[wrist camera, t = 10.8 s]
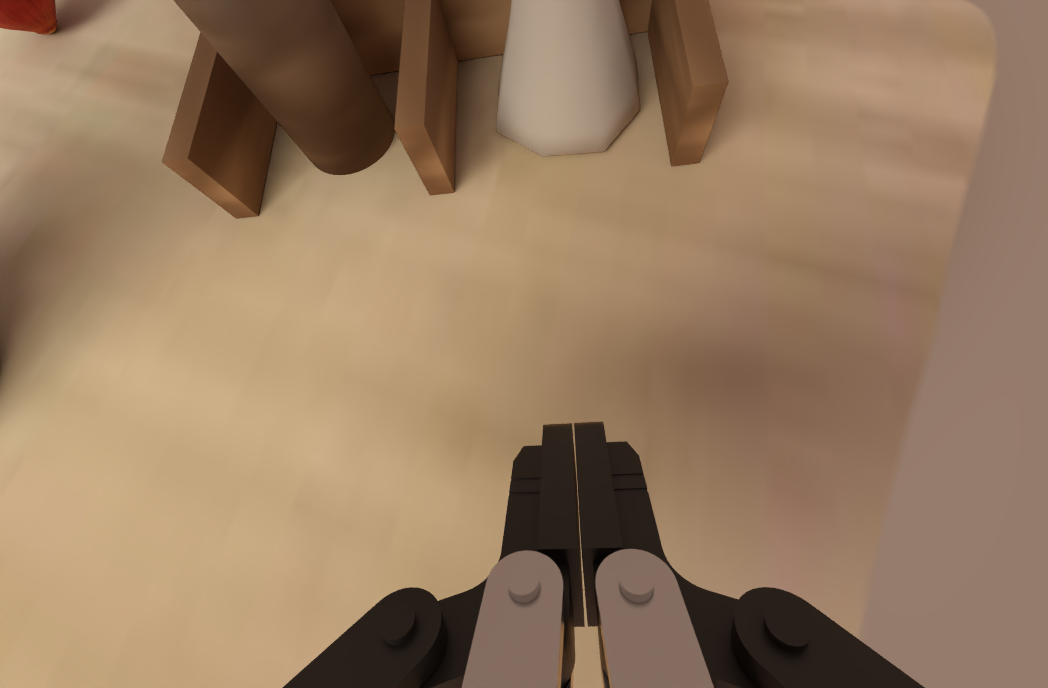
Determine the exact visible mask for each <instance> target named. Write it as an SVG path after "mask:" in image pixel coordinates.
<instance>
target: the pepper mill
mask: <svg viewBox="0 0 1048 688" xmlns="http://www.w3.org/2000/svg"><path fill="white" fill-rule="evenodd" d="M174 1H175V2H176V4H177V5H178V6H179V7H180V8H181V9H182V11H183V12H184V13H185V14H186V15H187V16H188V18H189V19H190V20H191V21H192V22H193V23H194V25H195V26H196V27H197V28H198V29H199V31H200V32H201V33H202V34H203V35H204V36H205V38H206V39H207V40H208V41H209V42H210V43H211V45H212V46H213V47H214V48H215V49H216V50H217V52H218V53H219V54H220V55H221V56H222V57H223V59H224V60H225V61H226V62H227V63H228V65H229V66H230V67H231V68H232V69H233V70H234V72H235V73H236V74H237V75H238V76H239V77H240V79H241V80H242V81H243V82H244V83H245V84H246V86H247V87H248V88H249V89H250V90H251V92H252V93H253V94H254V95H255V96H256V97H257V99H258V100H259V101H260V102H261V103H262V104H263V106H264V107H265V108H266V109H267V110H268V111H269V113H270V114H271V115H272V116H273V117H274V119H275V120H276V121H277V122H278V123H279V124H280V126H281V127H282V128H283V129H284V130H285V131H286V133H287V134H288V135H289V136H290V137H291V138H292V140H293V141H294V142H295V143H296V144H297V145H298V147H299V148H300V149H301V150H302V151H303V153H304V154H305V155H306V156H307V157H308V158H309V160H310V161H311V162H312V163H313V164H314V165H315V166H316V167H317V168H318V169H320V170H321V171H323V172H325V173H329V174H333V175H346V174H352V173H355V172H358V171H361V170H363V169H365V168H367V167H369V166H370V165H372V164H373V163H375V162H376V161H377V160H378V159H380V158H381V157H382V156H383V154H384V153H385V152H386V151H387V149H388V148H389V146H390V144H391V142H392V139H393V136H394V121H393V119H392V116H391V114H390V113H389V111H388V109H387V107H386V105H385V103H384V101H383V99H382V97H381V96H380V94H379V92H378V90H377V88H376V86H375V84H374V82H373V80H372V78H371V77H370V75H369V73H368V71H367V69H366V67H365V65H364V63H363V61H362V60H361V58H360V56H359V54H358V52H357V50H356V48H355V46H354V44H353V42H352V41H351V39H350V37H349V35H348V33H347V31H346V29H345V27H344V25H343V24H342V22H341V20H340V18H339V16H338V14H337V12H336V10H335V8H334V6H333V5H332V3H331V1H330V0H174Z"/></svg>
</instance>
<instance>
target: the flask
mask: <svg viewBox="0 0 1048 688" xmlns="http://www.w3.org/2000/svg"><path fill="white" fill-rule="evenodd" d="M639 110H640V105H639V90H638V75H637V63H636V59H635V55H634V51H633V47H632V44H631V40H630V37H629V34H628V30H627V27H626V23H625V20H624V16H623V13H622V10H621V6H620V2H619V0H512V2H511V10H510V17H509V25H508V31H507V37H506V43H505V49H504V55H503V61H502V67H501V74H500V82H499V92H498V106H497V120H496V132H498V133H500V134H502V135H504V136H505V137H507V138H509V139H511V140H513V141H515V142H516V143H518V144H520V145H522V146H524V147H526V148H527V149H529V150H531V151H533V152H535V153H536V154H538V155H540V156H553V155H567V154H581V153H595V152H604V151H605V150H606V149H607V148H608V146H609V145H610V144H611V143H612V142H613V141H614V139H615V138H616V137H617V136H618V135H619V134H620V132H621V131H622V130H623V129H624V128H625V127H626V125H627V124H628V123H629V122H630V121H631V119H632V118H633V117H634V116H635V115H636V114H637V112H638V111H639Z"/></svg>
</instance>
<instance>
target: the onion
mask: <svg viewBox="0 0 1048 688" xmlns="http://www.w3.org/2000/svg"><path fill="white" fill-rule="evenodd" d="M0 28H4V29H10V30H21V31H30V32H35V33H39V34H51V33H53V32H55V30H56V28H57V20H56V7H55V0H0Z"/></svg>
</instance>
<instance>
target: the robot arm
mask: <svg viewBox="0 0 1048 688" xmlns="http://www.w3.org/2000/svg"><path fill="white" fill-rule="evenodd" d="M574 428H575V445H576V463H577V480H578V497H577V481H576V468H575V456H574V443H573V431H572V423H569V424H549V425H543V438H542V445H540V446H523V448H522V449H521V451H520V452H519V454H518V455H517V457H516V458H515V460H514V461H513V468H512V476H511V483H510V491H509V498H508V506H507V513H506V521H505V528H504V536H503V543H502V551H501V556H500V559H499V561H498V563H497V564H496V565H495V566H494V568H493V569H492V570H491V572H490V574H489V576H488V577H487V578H486V579H485V580H484V581H483V582H482V583H481V584H479V585H478V586H476V587H474V588H473V589H470V590H468V591H466V592H463V593H460V594H457V595H454V596H451V597H448V598H445V599H442V600H440V601H437V599H436V598H435V597H434V596H433V595H432V594H431V593H430V592H428V591H426V590H424V589H421V588H412V587H411V588H404V589H401V590H398V591H395V592H393V593H391V594H389V595H388V596H386V597H384V598H383V599H382V600H381V601H379V602H378V603H377V604H376V605H375V606H374V607H373V608H371V609H370V610H369V611H368V612H367V613H366V614H365V615H364V616H362V617H361V618H360V619H359V620H358V621H357V622H356V623H355V624H354V625H352V626H351V627H350V628H349V629H348V630H347V631H346V632H345V633H343V634H342V635H341V636H340V637H339V638H338V639H337V640H336V641H334V642H333V643H332V644H331V645H330V646H329V647H328V648H327V649H325V650H324V651H323V652H322V653H321V654H320V655H319V656H318V657H316V658H315V659H314V660H313V661H312V662H311V663H310V664H309V665H307V666H306V667H305V668H304V669H303V670H302V671H301V672H300V673H298V674H297V675H296V676H295V677H294V678H293V679H292V680H291V681H289V682H288V683H287V684H286V685H285V686H284V687H283V688H573V669H574V664H575V637H574V627H585V625H584V607H583V588H582V570H581V552H580V534H579V515H580V532H581V549H582V561H583V573H584V585H585V597H586V609H587V621H588V626H598V636H599V648H600V660H601V675H602V682H603V688H924V687H923V686H922V685H920V684H919V683H918V682H916V681H915V680H913V679H912V678H911V677H909V676H908V675H906V674H905V673H904V672H902V671H901V670H900V669H898V668H897V667H896V666H894V665H893V664H891V663H890V662H889V661H887V660H886V659H884V658H883V657H882V656H880V655H879V654H878V653H876V652H875V651H874V650H872V649H871V648H870V647H868V646H867V645H865V644H864V643H863V642H861V641H860V640H859V639H857V638H856V637H855V636H853V635H852V634H850V633H849V632H848V631H846V630H845V629H844V628H842V627H841V626H839V625H838V624H837V623H835V622H834V621H833V620H831V619H830V618H828V617H827V616H826V615H824V614H823V613H822V612H820V611H819V610H818V609H816V608H815V607H813V606H812V605H811V604H809V603H808V602H806V601H805V600H803V599H802V598H800V597H798V596H796V595H794V594H792V593H790V592H787V591H784V590H781V589H776V588H769V587H763V588H756V589H752V590H750V591H748V592H746V593H745V594H743V595H742V596H741V597H740V599H739V600H738V599H734V598H731V597H728V596H724V595H721V594H718V593H715V592H711V591H708V590H705V589H702V588H700V587H698V586H696V585H694V584H692V583H690V582H689V581H687V580H686V579H684V578H683V577H682V576H681V575H679V574H678V573H677V572H676V571H675V570H674V569H673V568H672V566H671V565H670V564H669V562H668V561H667V559H666V557H665V555H664V552H663V549H662V546H661V542H660V538H659V534H658V530H657V526H656V522H655V518H654V514H653V510H652V506H651V502H650V498H649V494H648V492H647V486H646V482H645V478H644V475H643V470H642V466H641V462H640V458H639V455H638V454H637V453H636V452H635V451H634V450H633V448H632V447H631V446H630V445H629V444H628V443H627V442H606V437H605V430H604V424H603V422H587V423H574ZM578 498H579V515H578Z"/></svg>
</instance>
